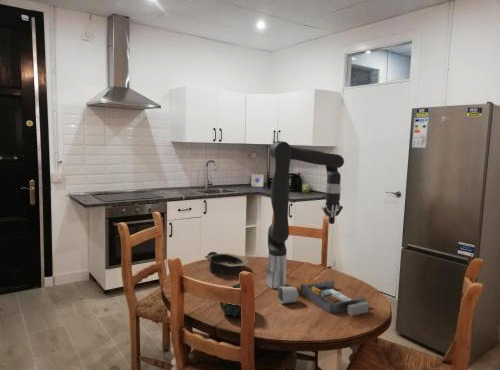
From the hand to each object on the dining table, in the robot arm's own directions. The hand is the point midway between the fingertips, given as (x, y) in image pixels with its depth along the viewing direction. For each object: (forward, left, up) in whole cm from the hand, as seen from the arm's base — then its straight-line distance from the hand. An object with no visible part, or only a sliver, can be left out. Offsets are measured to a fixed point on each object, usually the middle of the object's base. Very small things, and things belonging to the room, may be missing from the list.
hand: (331, 223), depth 207 cm
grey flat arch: (-14, -22, -33) cm, 42 cm away
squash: (-62, -17, -32) cm, 72 cm away
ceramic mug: (-35, -14, -32) cm, 50 cm away
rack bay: (-14, -21, -32) cm, 41 cm away
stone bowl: (-45, +37, -32) cm, 67 cm away
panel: (-12, -37, -32) cm, 50 cm away
